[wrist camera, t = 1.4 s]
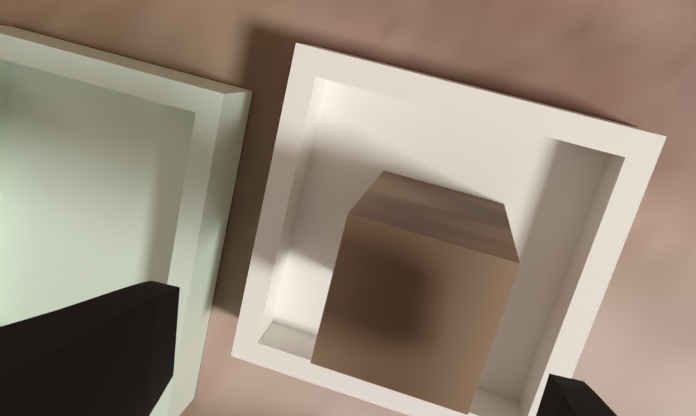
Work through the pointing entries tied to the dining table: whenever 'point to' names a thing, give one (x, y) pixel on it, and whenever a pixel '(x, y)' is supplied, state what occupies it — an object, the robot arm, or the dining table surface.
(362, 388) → the cream dish
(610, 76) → the dining table surface
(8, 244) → the sage tray
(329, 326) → the walnut block
